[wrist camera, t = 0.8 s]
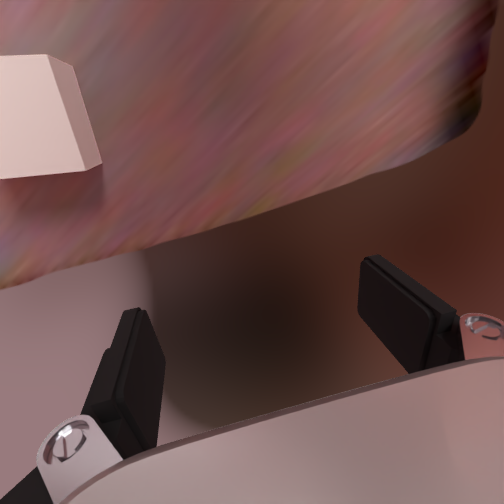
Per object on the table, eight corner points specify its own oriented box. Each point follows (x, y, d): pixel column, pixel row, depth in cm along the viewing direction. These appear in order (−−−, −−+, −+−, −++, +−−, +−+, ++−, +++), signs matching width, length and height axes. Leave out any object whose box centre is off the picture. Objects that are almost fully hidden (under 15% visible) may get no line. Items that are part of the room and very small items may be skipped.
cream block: (-32, 71, 27) (-86, 59, 22) (73, 66, 29) (46, 54, 24) (14, 171, 32) (-22, 181, 27) (102, 162, 33) (86, 170, 28)
